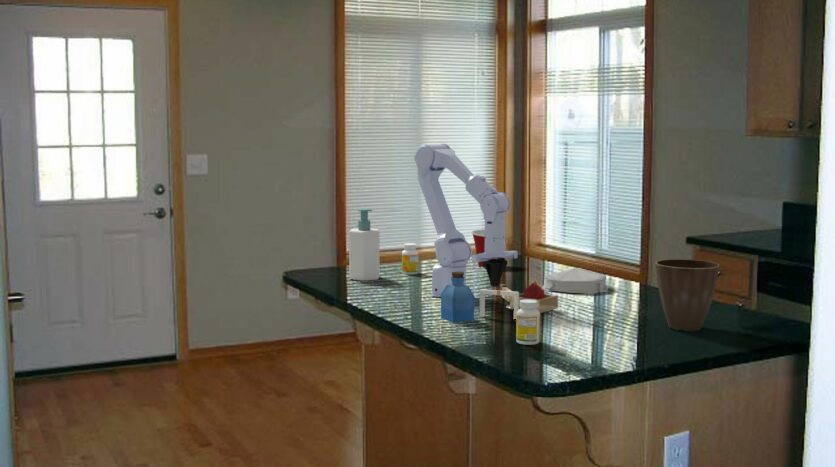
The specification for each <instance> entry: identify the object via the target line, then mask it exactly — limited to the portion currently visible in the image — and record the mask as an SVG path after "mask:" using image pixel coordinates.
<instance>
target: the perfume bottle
mask: <svg viewBox="0 0 835 467" xmlns="http://www.w3.org/2000/svg"><path fill="white" fill-rule="evenodd" d="M463 275H464V272H452V277H451V281H452V284H451V285H447V286H446V287H445V289H444V290H443V292H442V293H441V297H440V319H442V320H445V321H447V322H450V323H462V322H469V321H475V295H474V293H473V292H472V289H471V288H470V286H469V285H467V284H466V285H463V282H464V281H465V277H463Z"/></svg>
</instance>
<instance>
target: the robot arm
mask: <svg viewBox="0 0 835 467" xmlns="http://www.w3.org/2000/svg"><path fill="white" fill-rule="evenodd" d="M413 159H414V162H415V164H416V167H417V179H418V183H419V187H420V189H421V192H422V194H423V197H424V200H425V203H426V206H427V208H428V209H427V210H428V211H429V212H428V213H429V214H430V217H431V219H432V220H431V221H432V223H433V225H434V228H435V231H436V233H437V238H436V239H435V240H434V243H433V244H434V247H435V258H436V260H437V262H438V264H435V265H434V266H433V268H432V273H431V294H430V296H431V297H437V298H441V293H442V292H443V290H444V289H445V287H446V286H447V285H451V284H452V281H451V277H452V272H464V275H463V277H465V281H464V282H463V285H467V265H468V261H469V260H470V259H471V262H472V263H476V264H478V262H482V261H483V265H484V267H483V268H485V270H486V273H487V277H488V278H489V283H490V286H491V287H494V288H495V287H497V288H498V287H500V285H501V284H500V283H501V278H502V276H503V274H504V271H505V269H506V267H507V265H508V260H509V259H518V258H519V257H518V251H517V250H506V236H507V235H506V234H507V233H506V232H507V231H506V229H507V228H506V227H507V226H506V225H507V224H506V223H507V221H506V220H507V216H506V214H507V212H508V211H509V210H510V208H511V201H510V197H508V195H507V193H505V192H500V191H498V190H497V188H496V187H493V186H492V185H491V184H490V183H489V182H488V181H487V178H486V177H485V176H484V175H480V174H477V175H475V174H474V173H473V172H472V171H471V170H470V168H468V167H467V166H466V165H465V164H464V162H462V160H461V159H460V158H459V157H458V156H457V155H456V151H455V150H454V149H452V148H451V147H450V145H449V144H446V143H439V144H421V145H420V146H418V148H417V150H416V152H415V155H414V158H413ZM445 169H447V170H448V171H449V172H450V173H452V174H453V175H454V176H456V178H458V179H459V180H460V181H462V183H464V184H465V191H466V192H468V194H470V196H471V197H473V199H474V200H475V201H476V202H477V203H479V206H480V210H481V211H482V215H483V220H484V230H485V252H484V253H480V254H476V253H475V254H472V253H473V249H472V246H471V244H470V243H469V242H468V241H467V239H466V237H465V235H464V234H463V233H462V232H460V231H459V230H458V229H457V228H456V224H455V222H454V219H453V217H452V213H451V211H450V209H449V206H448V203H447V200H446V197H445V195H444V191H443V189H442V187H441V183H440V181H439V178H440V176H441V175H442V173H443V172H444V171H445ZM496 257H497V258H496ZM506 259H507V260H506Z"/></svg>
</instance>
